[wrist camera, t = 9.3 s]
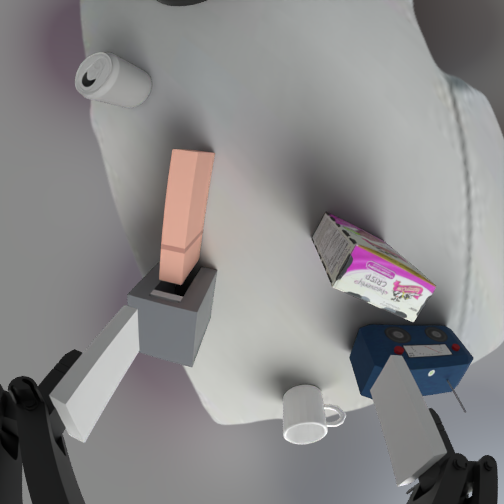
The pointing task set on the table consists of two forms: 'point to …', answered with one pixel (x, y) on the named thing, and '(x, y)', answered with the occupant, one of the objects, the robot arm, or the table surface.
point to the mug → (306, 415)
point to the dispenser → (173, 315)
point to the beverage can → (112, 80)
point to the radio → (411, 356)
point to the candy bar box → (370, 268)
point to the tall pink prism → (184, 213)
